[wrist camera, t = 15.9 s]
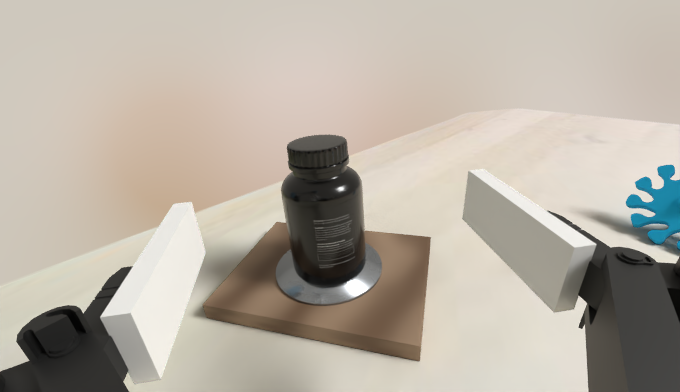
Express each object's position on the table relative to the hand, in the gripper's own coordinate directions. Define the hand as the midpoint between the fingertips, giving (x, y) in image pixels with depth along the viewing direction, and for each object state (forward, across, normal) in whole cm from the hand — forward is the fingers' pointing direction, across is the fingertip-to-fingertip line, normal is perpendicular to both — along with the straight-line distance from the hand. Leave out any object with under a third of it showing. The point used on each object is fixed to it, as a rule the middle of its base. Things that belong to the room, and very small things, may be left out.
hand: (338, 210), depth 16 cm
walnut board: (+11, 0, -14) cm, 18 cm away
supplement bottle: (+11, 0, -12) cm, 17 cm away
